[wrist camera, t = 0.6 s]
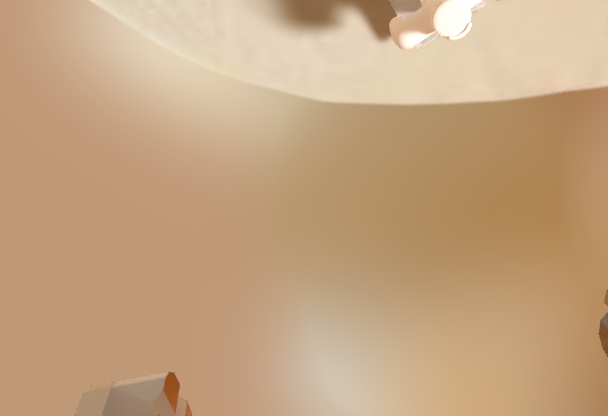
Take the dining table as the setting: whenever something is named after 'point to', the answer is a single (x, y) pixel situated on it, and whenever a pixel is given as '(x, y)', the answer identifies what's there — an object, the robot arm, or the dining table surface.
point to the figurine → (430, 20)
